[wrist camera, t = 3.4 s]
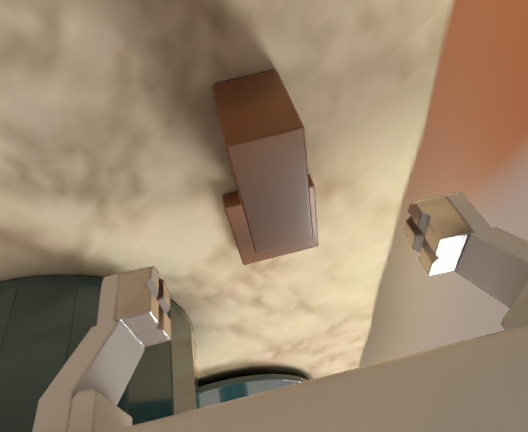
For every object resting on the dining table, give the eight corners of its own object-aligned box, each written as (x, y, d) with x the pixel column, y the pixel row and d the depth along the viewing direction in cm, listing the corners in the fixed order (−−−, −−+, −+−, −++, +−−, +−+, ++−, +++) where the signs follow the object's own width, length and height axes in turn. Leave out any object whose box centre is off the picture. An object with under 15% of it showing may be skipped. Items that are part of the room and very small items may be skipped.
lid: (121, 398, 31) (117, 472, 27) (307, 349, 31) (327, 416, 28) (181, 441, 42) (183, 497, 39) (316, 405, 42) (331, 457, 39)
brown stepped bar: (187, 89, 13) (195, 153, 11) (300, 62, 13) (333, 118, 11) (241, 253, 20) (253, 314, 18) (314, 234, 20) (336, 292, 18)
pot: (-161, 322, 18) (-320, 584, 12) (145, 244, 18) (142, 461, 12) (26, 409, 29) (-7, 570, 22) (217, 359, 29) (234, 505, 23)
